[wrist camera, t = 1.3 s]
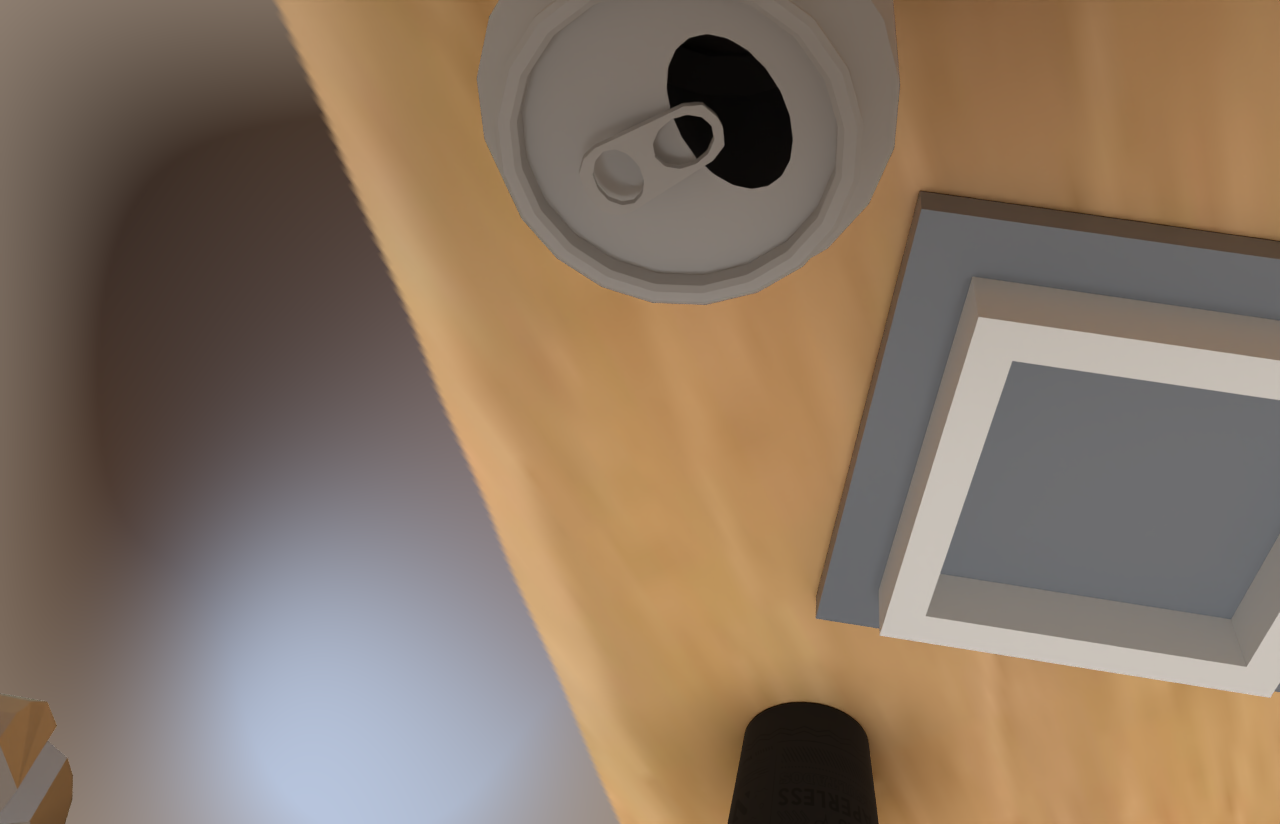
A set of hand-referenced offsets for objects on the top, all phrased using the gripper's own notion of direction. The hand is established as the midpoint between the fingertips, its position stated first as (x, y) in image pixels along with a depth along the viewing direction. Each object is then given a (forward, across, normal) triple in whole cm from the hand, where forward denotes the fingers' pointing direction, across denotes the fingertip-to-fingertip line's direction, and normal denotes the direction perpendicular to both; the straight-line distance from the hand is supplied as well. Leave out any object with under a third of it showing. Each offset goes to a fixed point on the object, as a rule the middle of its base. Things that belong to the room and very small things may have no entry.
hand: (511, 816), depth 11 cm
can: (+25, 0, 0) cm, 25 cm away
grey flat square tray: (+25, -14, +14) cm, 32 cm away
